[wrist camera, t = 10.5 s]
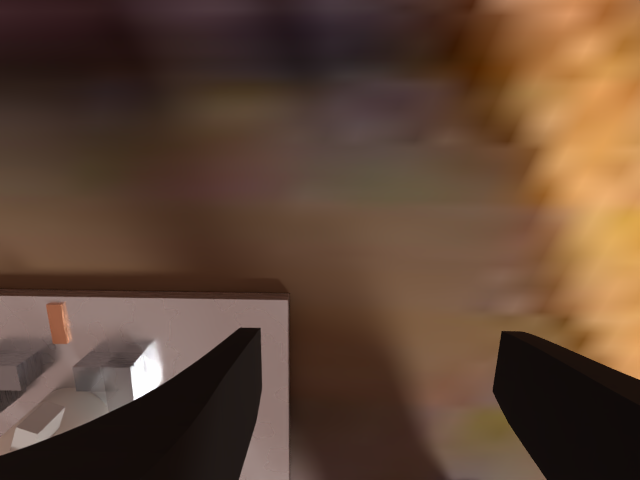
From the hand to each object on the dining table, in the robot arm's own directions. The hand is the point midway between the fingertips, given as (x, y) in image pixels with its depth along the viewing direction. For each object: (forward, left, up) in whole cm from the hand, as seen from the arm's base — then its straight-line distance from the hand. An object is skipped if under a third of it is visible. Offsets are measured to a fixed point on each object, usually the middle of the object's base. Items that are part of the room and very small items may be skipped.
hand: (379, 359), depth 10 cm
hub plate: (-10, +13, -10) cm, 19 cm away
